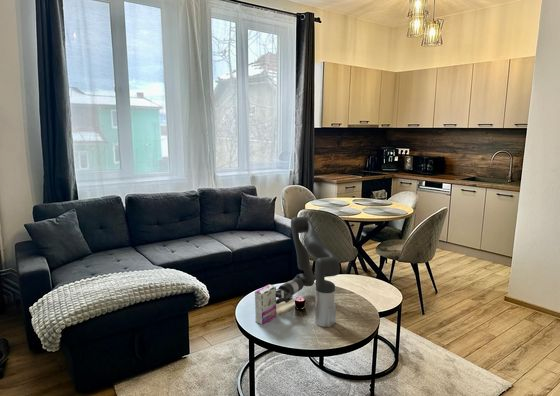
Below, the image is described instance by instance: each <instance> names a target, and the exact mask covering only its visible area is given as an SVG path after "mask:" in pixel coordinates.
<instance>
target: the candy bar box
mask: <svg viewBox="0 0 560 396" xmlns="http://www.w3.org/2000/svg"><path fill="white" fill-rule="evenodd" d="M276 290H277V286H276V285H273V284H267V285H265V286H263V287H261V288H260V289H259V288H258V290H256V291H255V290H254V305H255V307H254V309H255V313H254V314H255V323H256V324H259V325H261V326H263V325H265V324H267V323H268V322H269V321H271V320H273V319H274V318H276V317H277V314H276V300H277V297H276Z"/></svg>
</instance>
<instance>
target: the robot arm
mask: <svg viewBox="0 0 560 396" xmlns="http://www.w3.org/2000/svg"><path fill="white" fill-rule="evenodd" d="M290 230H291V234H292V239H293V244H294V247H295V251H296V261H297V268H298V269H299V270H300V271H303V272H304V273H299V274H296V276H295V277H294V278H293V279H292V280H289V281H287V282H285V283H282V284H281V285H279V286H278V288H276V304H279V303H281V302H285V303H287V302H289V301H290V300H292V299H293V296H294V295H296V294H297V293H298V292H300V291H301V290H302V289H303V288H304V287H312V286H314V284H315V308H314V309H315V310H314V311H315V313H314V315H315V316H314V319H315V320H314V323H315V324H316V325H317V326H318V327H324V328H331V327H333V325H334V324H336V322H337V320H336V318H337V304H336V303H335V299H336V284H335V283H334V282H332V281H331V280H327V279H326V278H331V277H335V276H338V275H339V274H340V271H341V267H340V266H341V265H340V263H339V261H338V259H337V257H336V256H335V255H334V254H333V253H332V252H331V251H330V250H329V248H328V247H327V246H326V244H325V243H324V241H323V239H322V238H321V236H319V234H318V232H317V230H316V229H315V227H314V225H313V224H312V221H311V219H310V218H309V217H308V216H295V217H292V218H291V219H290ZM303 233H306V234H305V237H304V240H303V243H302V241H301V239H300V236H299V234H303ZM310 255H312V256H314V257H316V260H315V264H314V265H315V267H314V270H315V275H314V273H313V270H312V268H311V263H310V262H311V261H310Z"/></svg>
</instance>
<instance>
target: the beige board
mask: <svg viewBox="0 0 560 396" xmlns="http://www.w3.org/2000/svg"><path fill="white" fill-rule="evenodd" d="M294 299H295V298H292V300H290V301H289V302H287V303H285V302H281V303H279V304H276V316H277V315H278V316H280V317H282V316H283V315H285V314H286V313H288V312H290V311H291V310H292V309H294V308H295V304H294Z"/></svg>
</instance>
